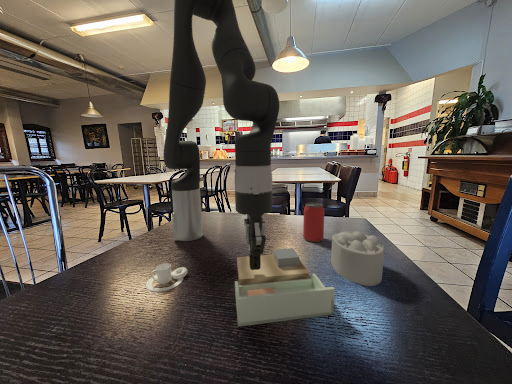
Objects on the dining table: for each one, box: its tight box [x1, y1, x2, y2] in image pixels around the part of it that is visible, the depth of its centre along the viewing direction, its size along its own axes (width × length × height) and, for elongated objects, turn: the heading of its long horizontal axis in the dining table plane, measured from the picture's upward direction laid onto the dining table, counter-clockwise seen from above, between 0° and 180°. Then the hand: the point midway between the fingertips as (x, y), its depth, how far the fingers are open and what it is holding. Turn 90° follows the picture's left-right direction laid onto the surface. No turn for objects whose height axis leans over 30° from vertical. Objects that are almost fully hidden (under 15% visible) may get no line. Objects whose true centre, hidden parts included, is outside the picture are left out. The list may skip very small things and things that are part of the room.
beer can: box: [302, 202, 325, 243], centre depth 72 cm, size 7×7×12 cm
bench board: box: [236, 254, 310, 286], centre depth 51 cm, size 15×10×3 cm, turn 98°
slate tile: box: [272, 247, 300, 267], centre depth 52 cm, size 5×5×2 cm
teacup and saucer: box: [145, 262, 188, 293], centre depth 50 cm, size 9×8×4 cm
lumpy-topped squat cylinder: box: [330, 230, 385, 287], centre depth 52 cm, size 10×13×9 cm
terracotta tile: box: [247, 288, 275, 296], centre depth 40 cm, size 5×5×2 cm
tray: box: [234, 273, 336, 328], centre depth 41 cm, size 17×8×5 cm, turn 98°
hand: (255, 268), depth 46 cm, fingers closed
